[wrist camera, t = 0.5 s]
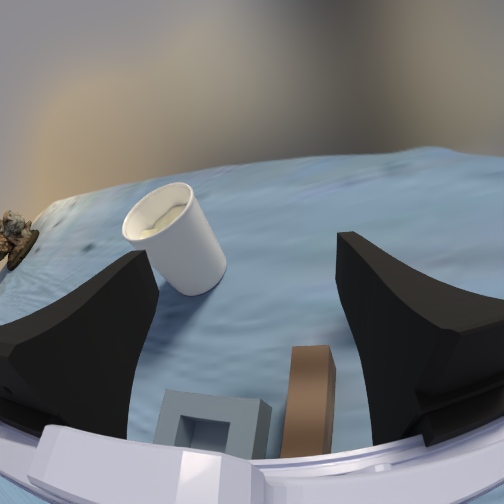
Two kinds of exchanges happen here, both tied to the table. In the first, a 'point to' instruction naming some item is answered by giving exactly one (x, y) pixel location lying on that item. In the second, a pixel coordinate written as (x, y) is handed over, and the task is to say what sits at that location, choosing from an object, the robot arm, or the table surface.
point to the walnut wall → (309, 403)
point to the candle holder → (176, 238)
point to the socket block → (214, 424)
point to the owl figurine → (15, 238)
